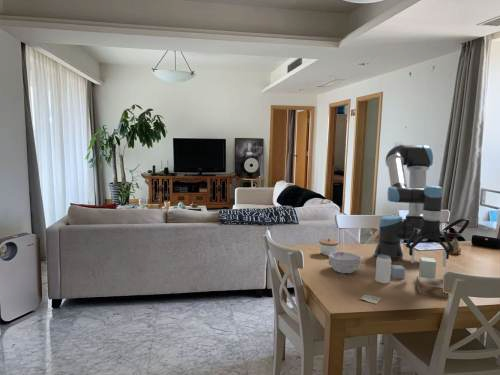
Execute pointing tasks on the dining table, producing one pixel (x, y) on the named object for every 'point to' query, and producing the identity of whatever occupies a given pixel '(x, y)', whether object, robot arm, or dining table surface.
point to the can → (383, 269)
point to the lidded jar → (328, 246)
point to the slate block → (397, 271)
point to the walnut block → (430, 286)
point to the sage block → (427, 267)
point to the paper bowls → (344, 261)
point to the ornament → (454, 247)
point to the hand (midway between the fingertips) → (427, 264)
